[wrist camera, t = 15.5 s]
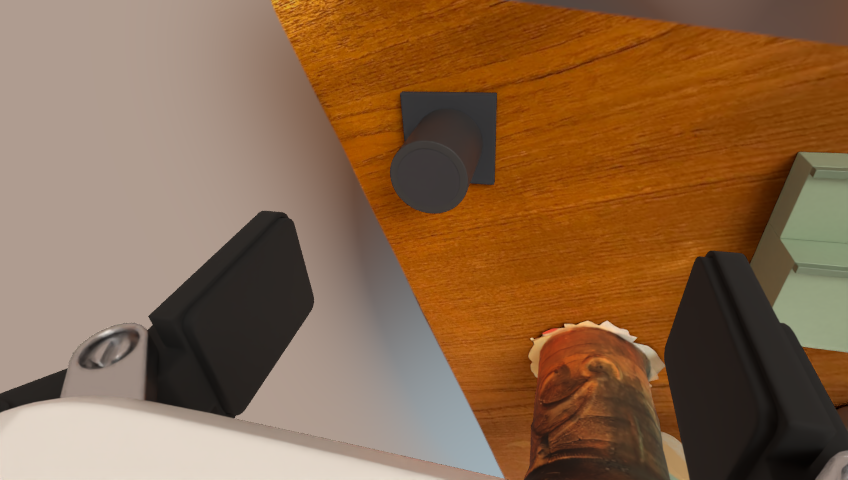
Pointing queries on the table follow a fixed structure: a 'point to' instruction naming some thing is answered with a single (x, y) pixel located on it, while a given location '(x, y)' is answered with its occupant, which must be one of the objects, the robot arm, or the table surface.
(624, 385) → the vessel
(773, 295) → the green stepped riser
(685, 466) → the decorative fish sculpture
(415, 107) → the pad
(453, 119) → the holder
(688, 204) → the table surface
